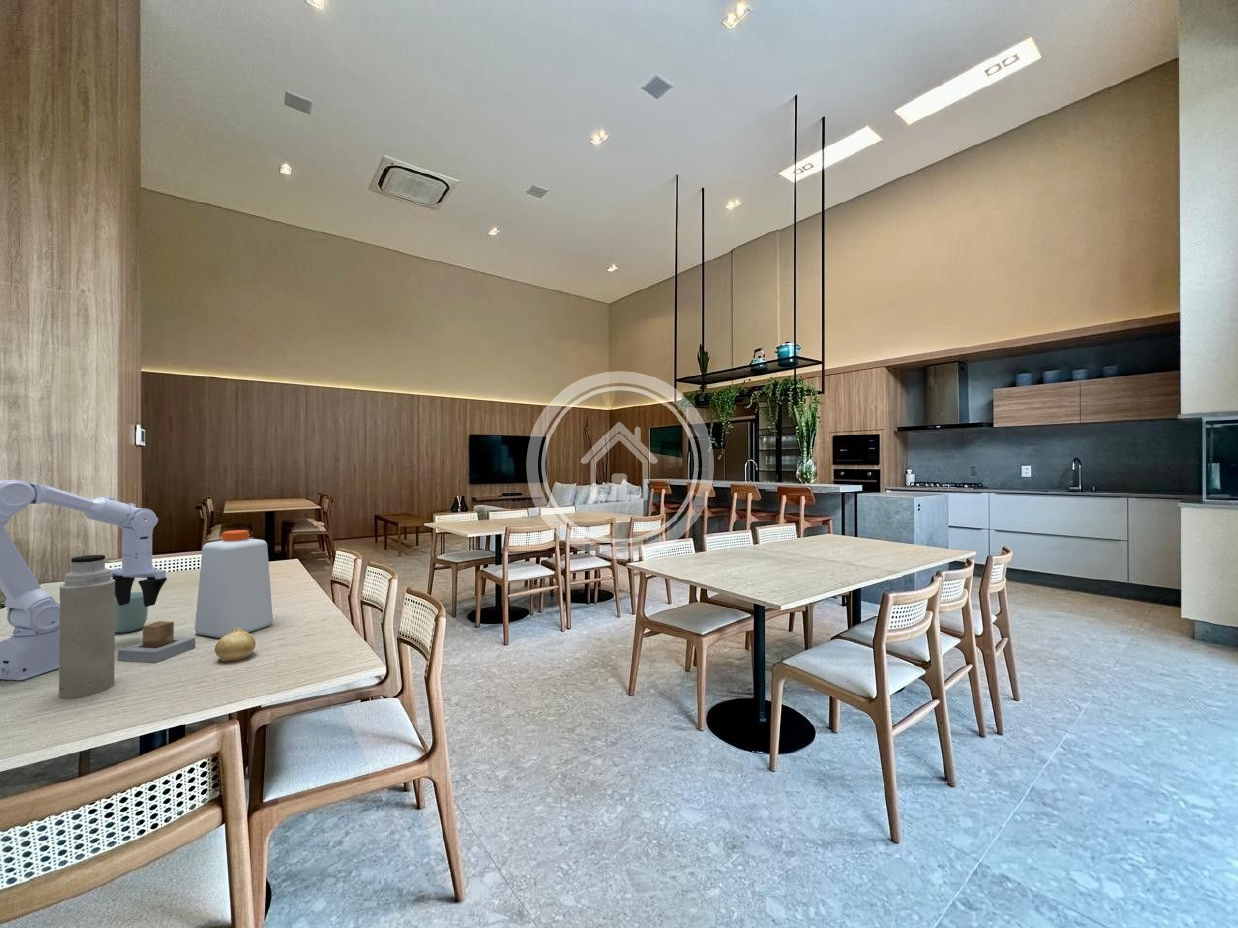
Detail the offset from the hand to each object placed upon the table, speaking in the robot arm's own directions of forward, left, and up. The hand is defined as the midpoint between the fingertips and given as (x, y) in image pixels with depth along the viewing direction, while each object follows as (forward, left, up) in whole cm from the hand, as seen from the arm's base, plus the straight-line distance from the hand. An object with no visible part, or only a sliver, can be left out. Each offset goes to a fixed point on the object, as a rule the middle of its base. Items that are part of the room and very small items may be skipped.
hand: (136, 605), depth 132 cm
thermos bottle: (-25, -18, -10) cm, 32 cm away
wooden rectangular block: (-6, -13, -10) cm, 17 cm away
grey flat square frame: (-6, -13, -10) cm, 17 cm away
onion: (-6, -34, -10) cm, 36 cm away
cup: (+8, +12, -10) cm, 18 cm away
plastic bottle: (+13, -16, -10) cm, 23 cm away
